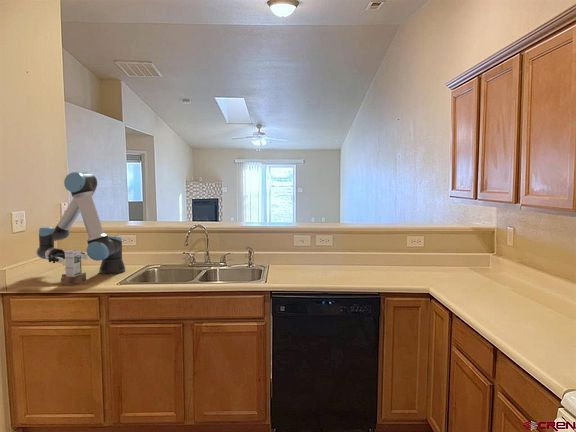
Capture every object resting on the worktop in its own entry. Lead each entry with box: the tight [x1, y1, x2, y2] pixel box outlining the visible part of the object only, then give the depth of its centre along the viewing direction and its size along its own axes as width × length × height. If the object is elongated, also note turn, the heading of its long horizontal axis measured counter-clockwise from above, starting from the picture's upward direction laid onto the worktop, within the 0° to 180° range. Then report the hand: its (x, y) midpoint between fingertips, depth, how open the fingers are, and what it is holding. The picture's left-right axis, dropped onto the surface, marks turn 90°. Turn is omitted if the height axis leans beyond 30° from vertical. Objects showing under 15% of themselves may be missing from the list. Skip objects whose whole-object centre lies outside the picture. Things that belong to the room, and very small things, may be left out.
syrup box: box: [64, 249, 83, 277], centre depth 218 cm, size 6×6×14 cm
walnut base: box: [60, 272, 87, 287], centre depth 219 cm, size 12×12×4 cm
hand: (75, 258), depth 217 cm, fingers open, 13 cm apart
